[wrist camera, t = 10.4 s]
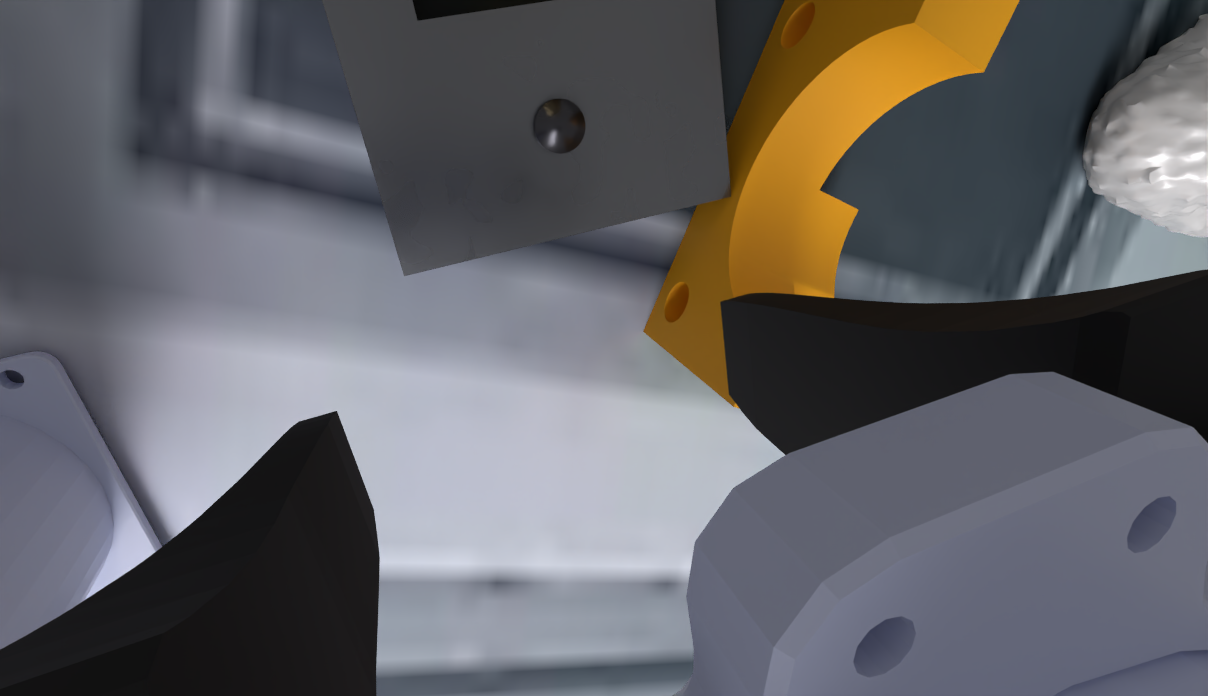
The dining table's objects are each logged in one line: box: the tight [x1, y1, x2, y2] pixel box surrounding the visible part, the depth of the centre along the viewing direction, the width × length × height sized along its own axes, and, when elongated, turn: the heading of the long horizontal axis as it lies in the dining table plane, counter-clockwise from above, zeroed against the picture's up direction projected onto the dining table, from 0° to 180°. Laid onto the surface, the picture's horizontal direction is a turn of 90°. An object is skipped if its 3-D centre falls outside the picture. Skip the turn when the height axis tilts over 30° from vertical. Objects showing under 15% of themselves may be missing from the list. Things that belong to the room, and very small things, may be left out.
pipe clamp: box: [643, 0, 1019, 408], centre depth 20 cm, size 12×4×6 cm, turn 156°
